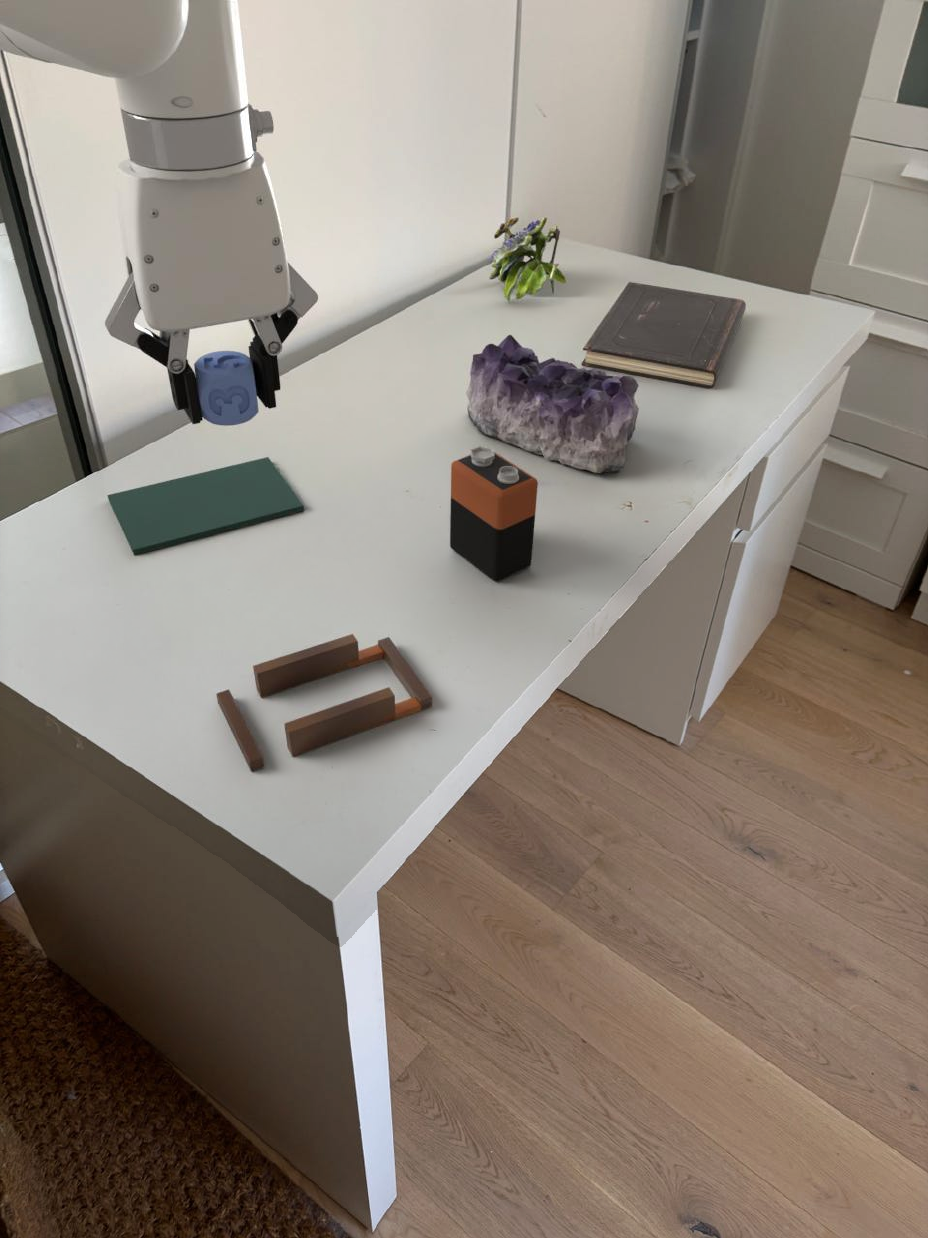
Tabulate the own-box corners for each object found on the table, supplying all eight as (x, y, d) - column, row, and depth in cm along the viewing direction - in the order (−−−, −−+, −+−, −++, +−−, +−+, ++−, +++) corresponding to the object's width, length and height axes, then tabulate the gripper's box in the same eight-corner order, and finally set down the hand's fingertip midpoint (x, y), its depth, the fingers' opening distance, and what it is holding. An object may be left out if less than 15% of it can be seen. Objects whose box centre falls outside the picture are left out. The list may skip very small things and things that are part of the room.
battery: (484, 532, 89) (488, 436, 83) (533, 567, 85) (541, 469, 79) (447, 548, 87) (448, 451, 81) (495, 585, 83) (501, 486, 77)
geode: (435, 437, 103) (439, 344, 97) (489, 408, 111) (495, 320, 106) (610, 487, 94) (625, 387, 89) (654, 451, 103) (670, 358, 98)
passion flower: (502, 319, 140) (508, 234, 140) (575, 317, 136) (581, 230, 136) (474, 297, 130) (480, 206, 129) (552, 294, 126) (559, 200, 125)
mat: (134, 555, 85) (132, 549, 85) (108, 500, 92) (107, 494, 92) (304, 510, 91) (303, 505, 91) (268, 461, 98) (268, 456, 98)
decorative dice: (201, 403, 72) (193, 352, 70) (255, 398, 73) (249, 347, 70) (203, 428, 69) (195, 376, 67) (260, 423, 70) (253, 371, 67)
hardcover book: (581, 365, 117) (583, 347, 115) (626, 298, 133) (629, 281, 132) (713, 389, 113) (717, 371, 111) (743, 316, 129) (747, 300, 128)
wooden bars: (251, 772, 67) (246, 747, 65) (217, 702, 72) (212, 678, 70) (432, 706, 72) (432, 682, 70) (389, 646, 77) (388, 622, 75)
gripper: (300, 112, 65) (320, 366, 77) (34, 137, 59) (100, 409, 70) (342, 139, 60) (356, 407, 71) (56, 169, 54) (123, 456, 65)
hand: (229, 405), depth 71 cm, fingers closed on decorative dice, 4 cm apart
